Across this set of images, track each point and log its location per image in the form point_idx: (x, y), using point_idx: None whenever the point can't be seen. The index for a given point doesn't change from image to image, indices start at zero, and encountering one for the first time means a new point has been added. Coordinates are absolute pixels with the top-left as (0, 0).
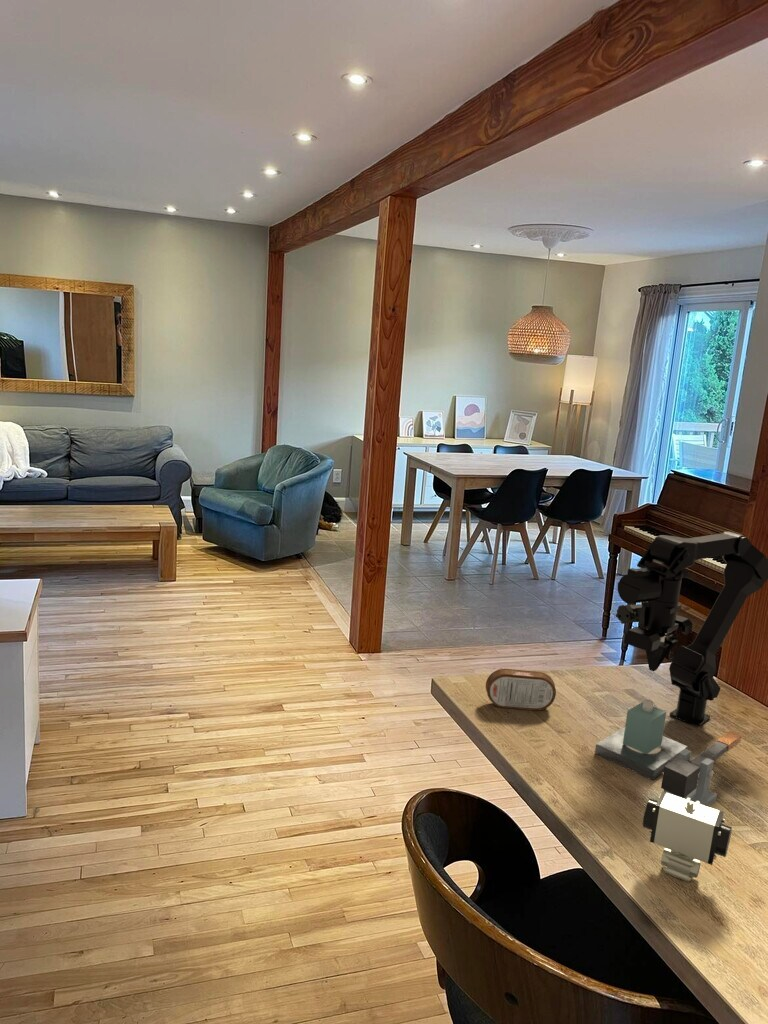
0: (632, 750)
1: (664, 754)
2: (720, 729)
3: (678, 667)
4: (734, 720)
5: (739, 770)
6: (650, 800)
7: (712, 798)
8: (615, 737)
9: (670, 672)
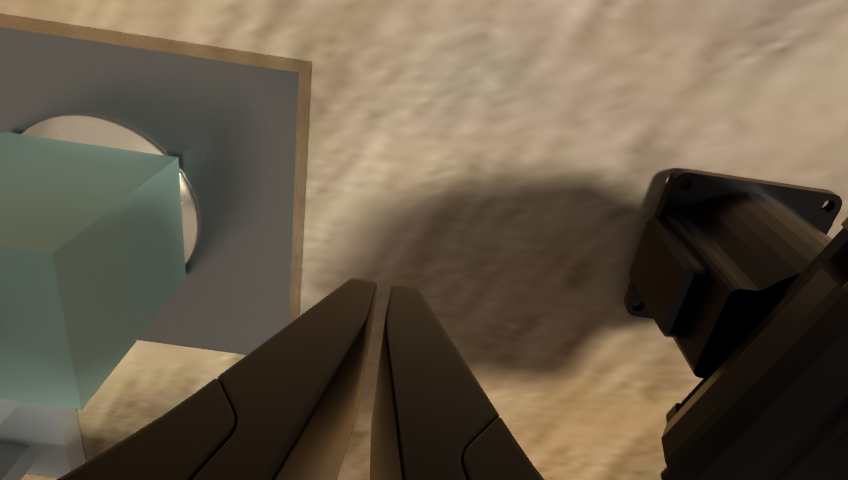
0: None
1: None
2: (665, 377)
3: (833, 397)
4: None
5: (350, 477)
6: None
7: (35, 474)
8: (38, 67)
9: (830, 280)
